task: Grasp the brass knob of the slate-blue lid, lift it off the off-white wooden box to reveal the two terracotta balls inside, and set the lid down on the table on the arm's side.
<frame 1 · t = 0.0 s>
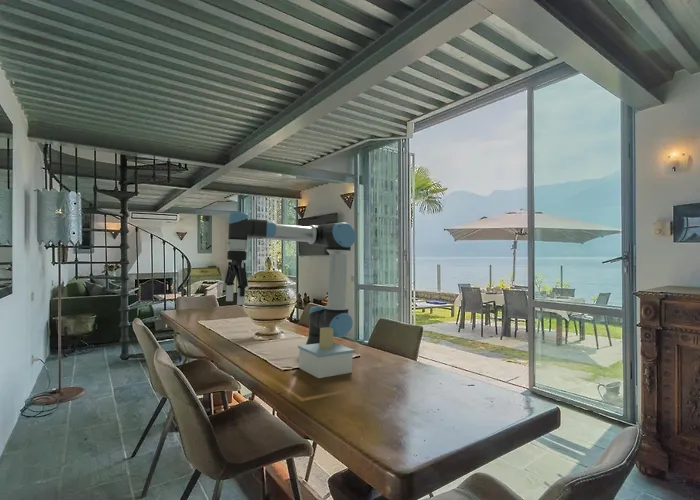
hand: (234, 302, 155), 28 cm above the table, fingers open, 13 cm apart
ball b: (322, 372, 155), point 1 cm above the table, touching box
ball a: (327, 367, 163), point 1 cm above the table, touching box
box: (325, 371, 159), on the table
lid: (325, 350, 159), point 9 cm above the table, touching box
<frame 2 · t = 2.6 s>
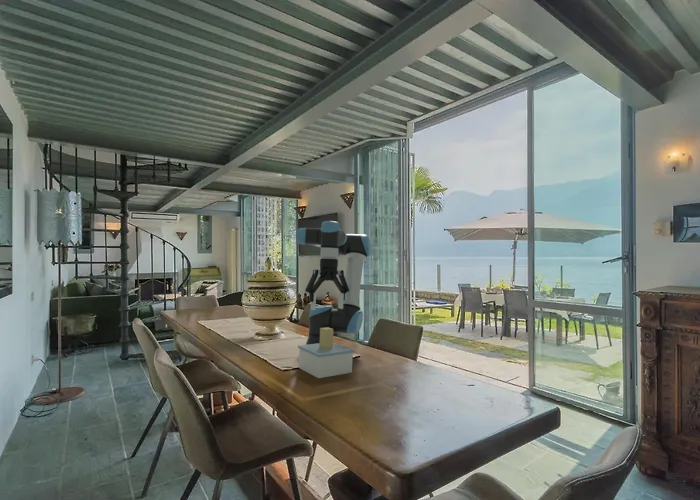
hand: (327, 309, 160), 26 cm above the table, fingers open, 13 cm apart
nothing on the table moved.
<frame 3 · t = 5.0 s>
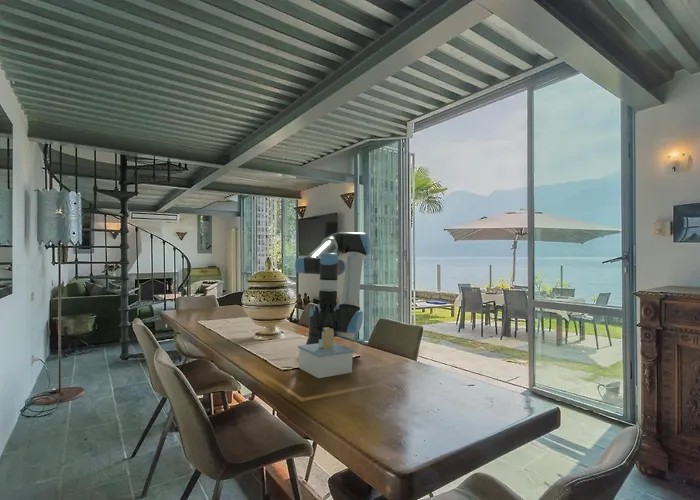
hand: (326, 346, 159), 11 cm above the table, fingers closed on lid, 4 cm apart
lid: (325, 350, 159), point 9 cm above the table, touching box, gripper
everything else where it was.
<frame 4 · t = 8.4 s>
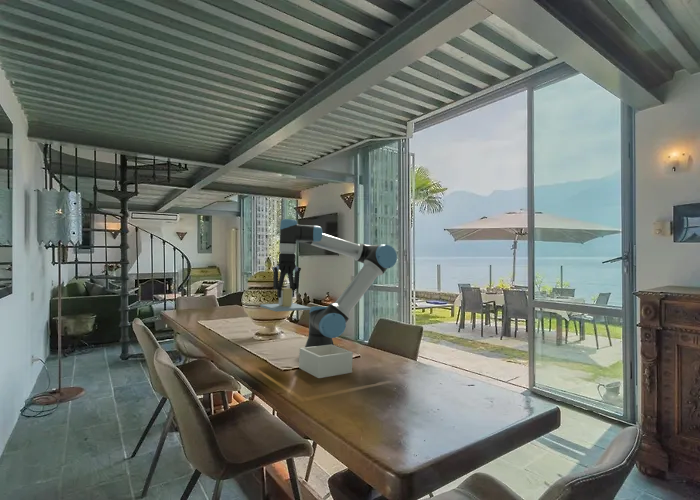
hand: (285, 304, 174), 26 cm above the table, fingers closed on lid, 4 cm apart
lid: (285, 308, 174), point 24 cm above the table, touching gripper
everything else where it was.
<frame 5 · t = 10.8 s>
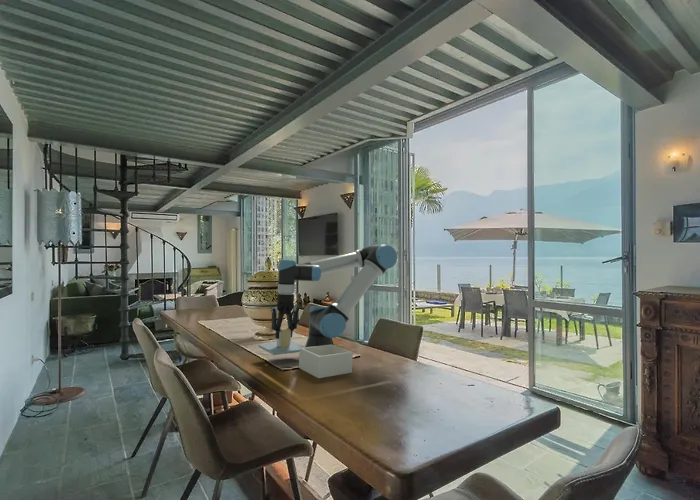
hand: (283, 345, 173), 7 cm above the table, fingers closed on lid, 4 cm apart
lid: (283, 348, 173), point 6 cm above the table, touching gripper
everything else where it was.
when the fingers open (4 cm above the table, at t = 12.2 s): lid drops 3 cm, on the table.
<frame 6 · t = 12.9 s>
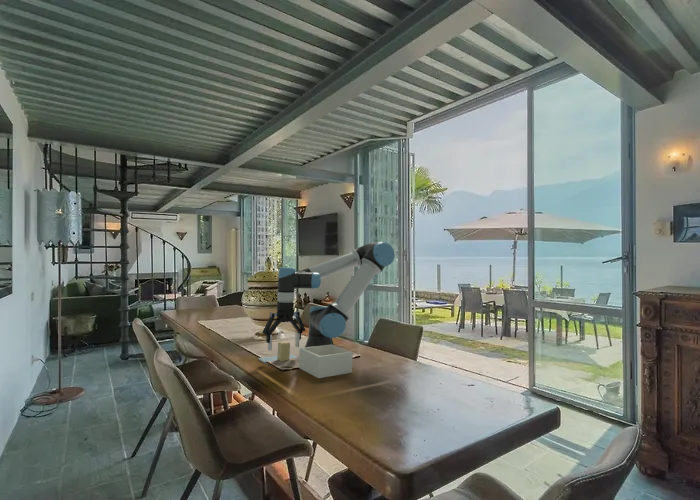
hand: (283, 348, 173), 6 cm above the table, fingers open, 13 cm apart
lid: (283, 362, 173), on the table
everything else where it was.
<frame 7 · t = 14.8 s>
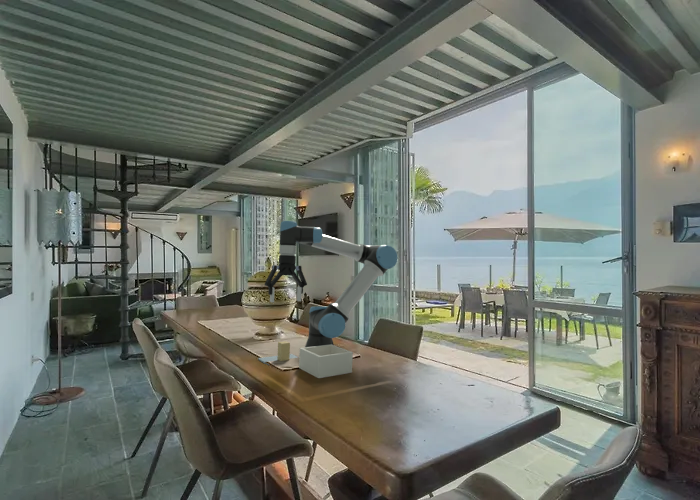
hand: (285, 301, 174), 27 cm above the table, fingers open, 13 cm apart
nothing on the table moved.
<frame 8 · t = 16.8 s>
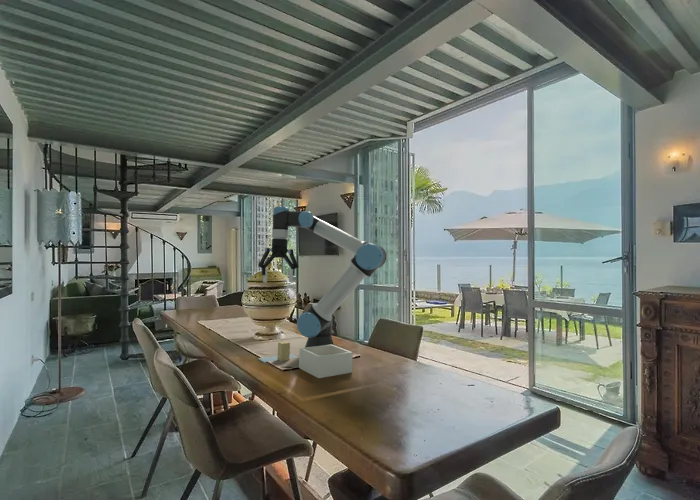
hand: (278, 282, 186), 35 cm above the table, fingers open, 13 cm apart
nothing on the table moved.
at the end: lid touching table; lid on the table; lid tilted 0° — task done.
